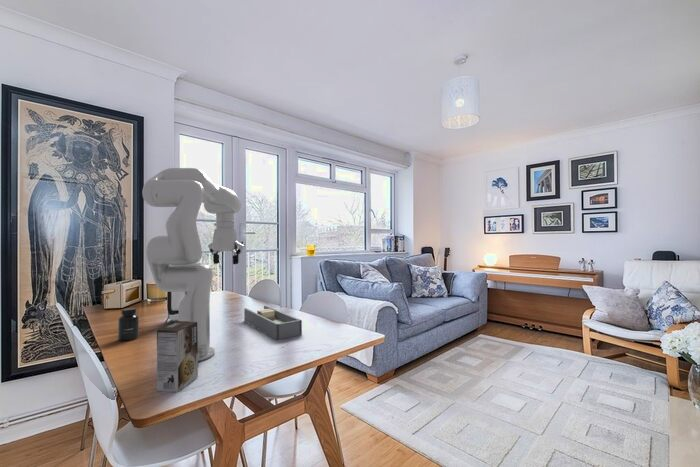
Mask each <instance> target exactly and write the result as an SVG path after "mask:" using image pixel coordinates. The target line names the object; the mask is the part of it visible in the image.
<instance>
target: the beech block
mask: <svg viewBox="0 0 700 467" xmlns="http://www.w3.org/2000/svg"><path fill="white" fill-rule="evenodd" d="M256 311H257V312H256V313H257V314H259V315H261V316H263V317H265V318H267V319H270V320H275V311H274V310H271V309H264V308H263V309H259V310H258V309H257V310H256Z"/></svg>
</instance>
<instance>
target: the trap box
mask: <svg viewBox="0 0 700 467" xmlns="http://www.w3.org/2000/svg"><path fill="white" fill-rule="evenodd" d="M264 309H271V310H274V311H275V320H270V319H267V318H265V317H263V316H261V315H259V314H257V312H256V311H253V310H251V309H249V308H244V310H243V311H244V312H243V313H244V315H243V316H244V317H243V318H244V322H245V323H248V324H249V325H250V326H253V327H254V328H255V329H258V330H259V331H261V332H263V333H265V334H266V335H268V336H269V337H271V338H273V339H275V340H277V341H279V340H284V339H288V338H292V337H297V336H301V335H303V332H302V331H303V328H302V327H303V324H302V323H303V322H302V319H300V318H297V317H295V316H293V315H290V314H287V313H286V312H283V311H280V310H277V309H275V308H272V307H270V306H268V305H264V306H263V310H264Z"/></svg>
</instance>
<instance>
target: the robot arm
mask: <svg viewBox="0 0 700 467" xmlns="http://www.w3.org/2000/svg"><path fill="white" fill-rule="evenodd" d="M141 193H142V194H141V195H142V198H143V200H144V201H145V203H146V204H147V205H149V206H150V207H155V208H175V209H174V210H173V211H172V212H171V214H170V215H169V217H167V220H166V222H165V229H166V233H167V234H166V235H158V236H157V235H156V236H153V237H152V238H150V239H149V240H148V243H147V245H146V250H145V251H146V252H145V253H146V260H147V263H148V267H149V269H150V271H151V274H152V278H153V281H154V283H155V286H156V287H157V289H158V290H160V291H161V292H166V293H167V292H187V293H186V295H185V296H184V298H183V299H182V300H181V302H180V304H179V321H189V322H197V331H198V362H201V361H204V360H208V359H211V357H213V356H214V355H215V352H216V351H215V348H213V347H211V346H210V345H211V340H210V339H211V338H210V336H211V335H210V334H211V333H210V328H211V327H210V326H211V324H210V322H211V320H210V318H211V316H210V313H211V312H210V311H211V310H210V306H211V305H210V304H211V303H210V302H211V301H210V300H211V299H210V298H211V289H212V288H211V287H212V282H213V269H212V267H211V266H210V265H208V264H205V263H202V262H200V260H201V259H202V257H203V249H202V243H201V239H200V236H199V231H198V227H197V218H198V215H199V212H200V209H201V206H202V204H203V209H204V210H205V211H206V212H207V213H209V214H215V216H216V217H215V218H216V219H215V220H216V221H215V223H214V224H213V225H214V227H215V228H214V230H213V236H212V242H211V243H208V245H207V247H208V250H209V251H210V253H211V255H212V256H213V257H212V259H213V260H212V261H213V264H214V265H217V264H219V263H220V255H219V253H220V252H231V253H232V254H233V255H232V264H233V265H238V264H239V260H240V259H239V255H240V254H241V253H242V252H243V249H244V247H245V246H244V244H242V243H240V242H239V241H238V235H237V234H238V233H237V230H236V228H235V214H238V213H239V212H240V210H241V206H242V205H241V204H242V203H241V200H240V198H239V196H238V195H237V193H236V192H235V191H234V190H232V189H229V188H227V187H224V186H222V185H219V184H216V183H214V182H213V180H212V179H211V178H210V177H209V176H208V175H207V174H206V173H205V172H204V171H203V170H202V169H198V168H195V167H170V168H166V169H163V170H161V171H160V172H158V173H157V174H154V176H152V177H150V178H149V179H148V180H147V181H146V182H145V183H144V184H143V188H142V192H141ZM199 262H200V263H199Z"/></svg>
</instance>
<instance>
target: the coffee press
mask: <svg viewBox="0 0 700 467" xmlns="http://www.w3.org/2000/svg"><path fill="white" fill-rule="evenodd" d="M186 293H187V292H166V297H167V300H166V302H167V303H166V305H167V306H166V308H167V310H166V311H167V318H166V320H165V322H164V323H165V324H167V325H170V323H171V322H172V321H174V322H177V321H179V304H180V302H181V300H182V299H183V298H184V296H185V295H186Z"/></svg>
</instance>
